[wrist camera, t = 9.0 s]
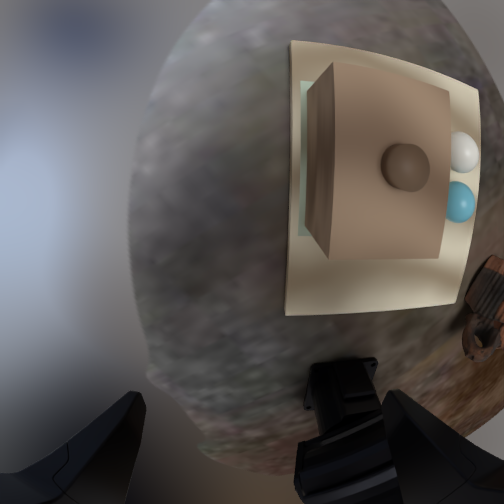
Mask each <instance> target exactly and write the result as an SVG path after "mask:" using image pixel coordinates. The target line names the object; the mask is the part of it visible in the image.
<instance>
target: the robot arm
mask: <svg viewBox="0 0 504 504" xmlns="http://www.w3.org/2000/svg"><path fill="white" fill-rule="evenodd" d="M372 363H373V364H372ZM377 365H378V361H377V359H376V358H370V359H362V360H353V361H343V362H332V363H319V364H314V365H312V366H311V369H310V374H309V380H308V385H307V390H306V395H305V400H304V404H303V406H304V410H315V414H316V419H317V424H318V429H319V434H320V436H318V437H316V438H313V439H310V440H307V441H302V442H299V443H298V450H297V457H296V466H295V475H294V485H295V490H296V492H297V493H298V495H299V497H300V499H301V500H302V502H303V503H304V504H504V460H501V459H499V458H498V457H496V456H494V455H492V454H490V453H488V452H487V451H485V450H483V449H481V448H480V447H478V446H476V445H474V444H473V443H472V442H470V441H469V440H467V439H466V438H464V437H463V436H462V435H460V434H459V433H457V432H456V431H455V430H453V429H452V428H451V427H449V426H448V425H446V424H445V423H444V422H442V421H441V420H440V419H438V418H437V417H436V416H434V415H433V414H432V413H430V412H429V411H428V410H426V409H425V408H424V407H422V406H421V405H420V404H418V403H417V402H416V401H414V400H413V399H412V398H410V397H409V396H408V395H406V394H405V393H404V392H402V391H401V390H400V389H393V390H389V391H388V392H387V394H386V396H385V398H384V400H383V402H382V405H381V403H380V401H379V398H378V396H377V394H376V390H375V387H374V385H373V383H372V379H373V376H374V374H375V371H376V368H377ZM315 369H316V370H315ZM145 415H146V405H145V402H144V400H143V397H142V394H141V393H140V392H137V391H129V392H127V393H126V394H125V395H124V396H123V397H121V398H120V399H119V400H118V401H116V402H115V403H114V404H113V405H112V406H110V407H109V408H108V409H107V410H105V411H104V412H103V413H102V414H101V415H99V416H98V417H97V418H96V419H94V420H93V421H92V422H91V423H89V424H88V425H87V426H86V427H84V428H83V429H82V430H81V431H79V432H78V433H77V434H76V435H74V436H73V437H72V438H70V439H69V440H68V442H66V443H64V444H63V445H61V446H60V447H59V448H57V449H56V450H55V451H53V452H52V453H50V454H49V455H47V456H46V457H44V458H42V459H41V460H39V461H37V462H35V463H34V464H32V465H30V466H28V467H27V468H25V469H23V470H21V471H18V472H14V473H0V504H124V503H125V499H126V495H127V491H128V487H129V483H130V479H131V476H132V473H133V469H134V466H135V462H136V458H137V455H138V452H139V448H140V444H141V439H142V433H143V426H144V420H145Z"/></svg>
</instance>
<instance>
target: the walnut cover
mask: <svg viewBox="0 0 504 504" xmlns="http://www.w3.org/2000/svg"><path fill="white" fill-rule="evenodd" d="M450 167H451V111H450V96H449V91H447V90H445V89H442V88H439V87H437V86H434V85H431V84H428V83H425V82H422V81H418V80H415V79H412V78H408V77H405V76H401V75H398V74H394V73H390V72H386V71H382V70H377V69H373V68H368V67H363V66H358V65H352V64H346V63H340V62H332V63H331V64H330V65H329V67H328V68H327V69H326V70H325V71H324V72H323V73H322V74H321V75H320V77H319V78H318V79H317V80H316V81H315V82H314V83H313V85H312V86H311V87H310V88H309V89H308V90H307V177H306V207H305V227H306V228H307V229H308V231H309V232H310V234H311V235H312V237H313V238H314V239H315V241H316V242H317V244H318V245H319V247H320V248H321V250H322V251H323V253H324V254H325V255H326V257H327V258H328V260H369V259H438V258H439V254H440V248H441V243H442V238H443V232H444V225H445V219H446V211H447V203H448V194H449V182H450Z"/></svg>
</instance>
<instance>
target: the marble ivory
mask: <svg viewBox="0 0 504 504" xmlns="http://www.w3.org/2000/svg"><path fill="white" fill-rule="evenodd" d="M478 160H479V150H478V147H477V145H476V143H475V141H474V140H473V139H472V138H471V137H470V136H469V135H468V134H466V133H464V132H459V131H456V132H452V133H451V167H450V168H451V169H452V170H453V171H455V172H458V173H468V172H470V171H472V170H473V169H474V168H475V167H476V165H477V163H478Z"/></svg>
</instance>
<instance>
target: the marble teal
mask: <svg viewBox="0 0 504 504" xmlns="http://www.w3.org/2000/svg"><path fill="white" fill-rule="evenodd" d="M474 209H475V198H474V195H473V192H472V191H471V189H470V188H469V187H468V186H467V185H466V184H464V183H462V182H459V181H452V182H449V194H448V203H447V211H446V219H447V220H449V221H451V222H453V223H463V222H465V221H467V220H468V219H469V218H470V217H471V216H472V214H473V212H474Z"/></svg>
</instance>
